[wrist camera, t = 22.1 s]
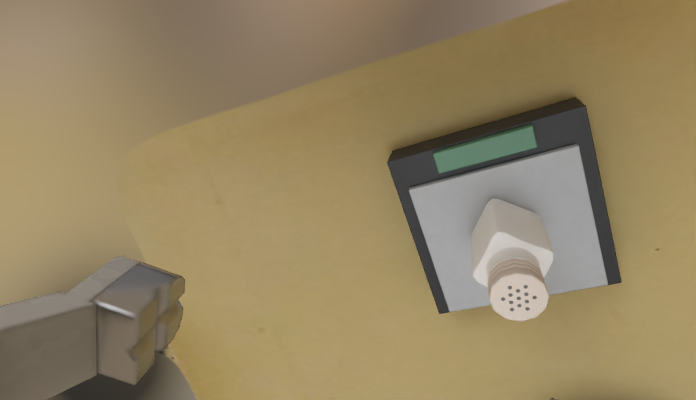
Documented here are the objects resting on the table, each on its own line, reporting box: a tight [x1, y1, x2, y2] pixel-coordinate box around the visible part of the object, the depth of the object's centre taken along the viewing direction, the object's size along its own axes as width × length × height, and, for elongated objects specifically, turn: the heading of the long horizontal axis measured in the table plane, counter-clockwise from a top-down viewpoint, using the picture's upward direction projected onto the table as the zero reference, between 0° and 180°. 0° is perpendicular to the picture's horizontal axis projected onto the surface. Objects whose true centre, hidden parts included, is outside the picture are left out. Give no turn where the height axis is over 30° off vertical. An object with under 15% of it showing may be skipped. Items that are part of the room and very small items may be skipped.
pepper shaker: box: [471, 198, 554, 321], centre depth 31 cm, size 4×4×10 cm
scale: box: [387, 97, 621, 314], centre depth 37 cm, size 14×14×4 cm
